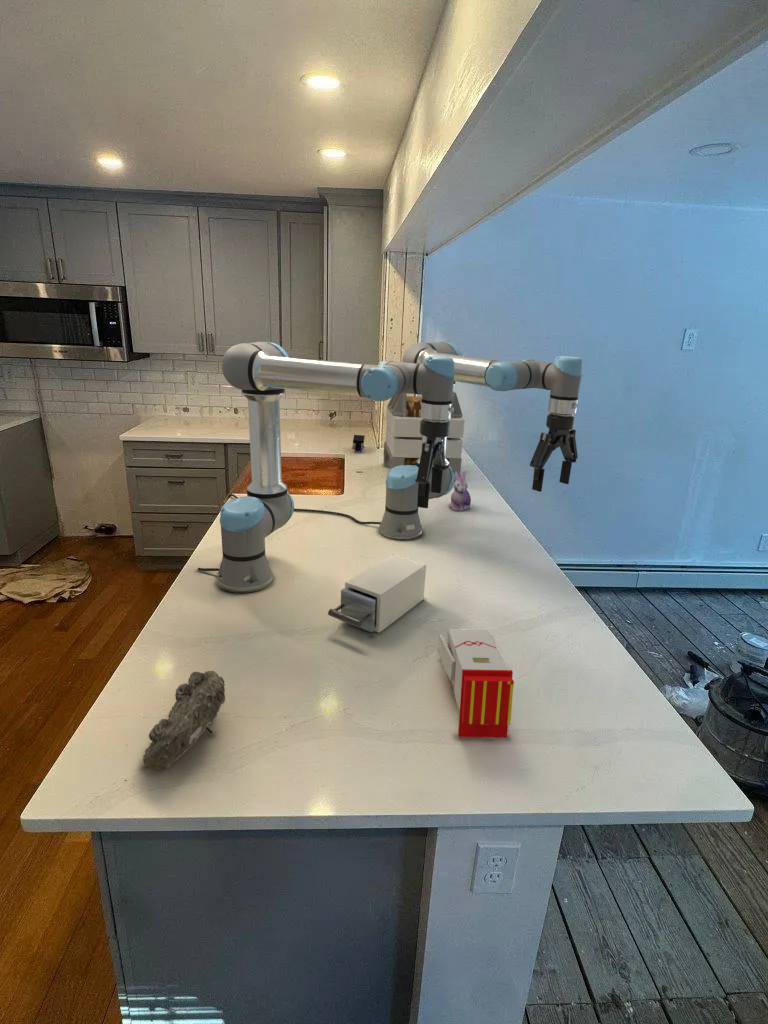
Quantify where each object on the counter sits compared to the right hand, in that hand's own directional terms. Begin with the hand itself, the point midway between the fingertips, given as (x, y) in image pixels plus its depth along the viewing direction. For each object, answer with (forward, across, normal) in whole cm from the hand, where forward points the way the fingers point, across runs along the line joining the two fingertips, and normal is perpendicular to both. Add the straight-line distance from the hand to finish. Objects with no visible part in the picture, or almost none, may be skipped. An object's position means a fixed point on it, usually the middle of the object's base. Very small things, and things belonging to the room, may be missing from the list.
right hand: (550, 486), depth 165 cm
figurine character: (+28, +48, +152) cm, 162 cm away
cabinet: (+28, -53, +10) cm, 60 cm away
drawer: (+27, -58, +9) cm, 65 cm away
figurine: (+28, +25, +55) cm, 67 cm away
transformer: (+28, +46, +101) cm, 115 cm away
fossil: (+28, -111, -3) cm, 114 cm away
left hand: (0, -38, +11) cm, 40 cm away
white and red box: (+28, -61, -26) cm, 72 cm away
